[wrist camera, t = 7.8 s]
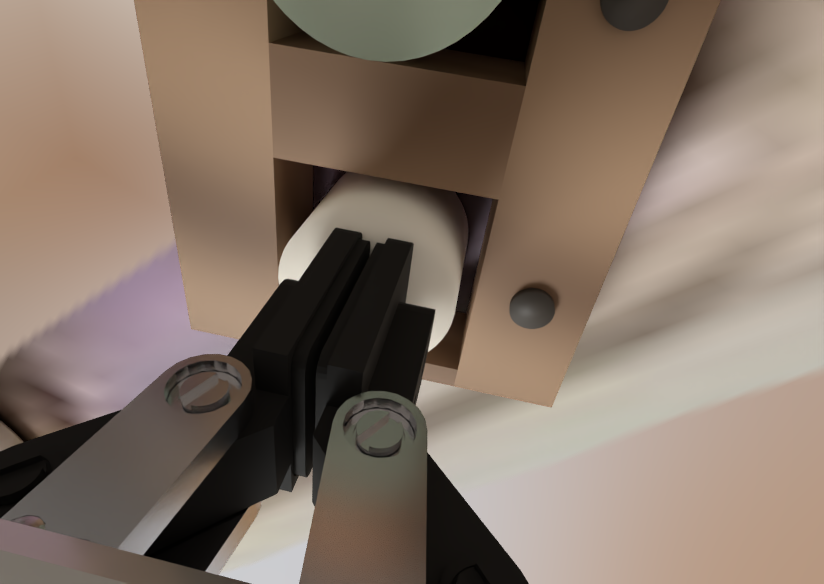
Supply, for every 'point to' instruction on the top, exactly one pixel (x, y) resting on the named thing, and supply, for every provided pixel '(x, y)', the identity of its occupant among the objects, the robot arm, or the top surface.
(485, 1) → the button
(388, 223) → the button
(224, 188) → the panel
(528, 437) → the top surface
